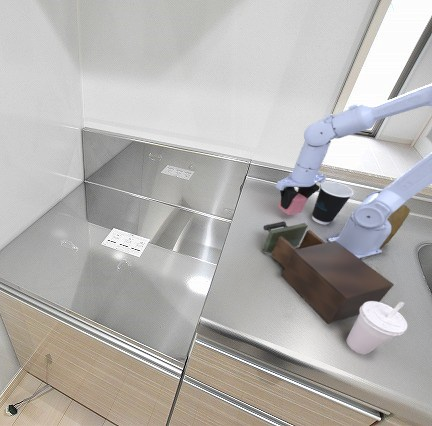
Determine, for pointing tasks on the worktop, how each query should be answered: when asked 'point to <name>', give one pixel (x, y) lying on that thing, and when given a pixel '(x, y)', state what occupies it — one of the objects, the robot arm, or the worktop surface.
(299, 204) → the block
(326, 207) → the dixie cup
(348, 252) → the cabinet
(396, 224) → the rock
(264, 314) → the worktop surface
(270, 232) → the drawer
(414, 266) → the worktop surface
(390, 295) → the worktop surface
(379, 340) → the smoothie
